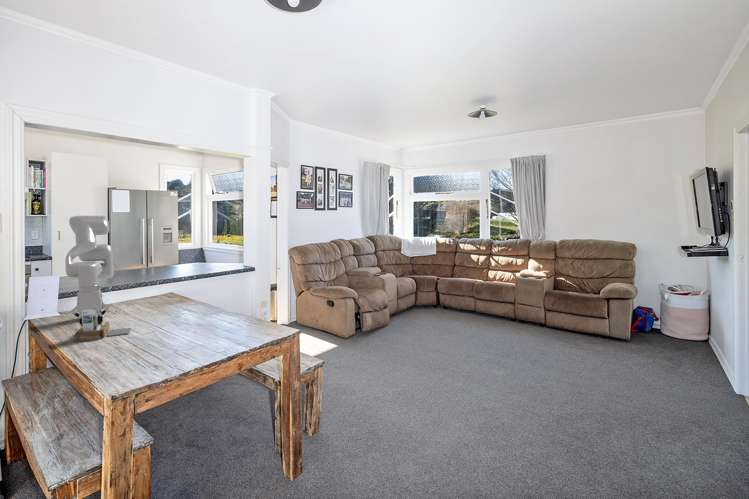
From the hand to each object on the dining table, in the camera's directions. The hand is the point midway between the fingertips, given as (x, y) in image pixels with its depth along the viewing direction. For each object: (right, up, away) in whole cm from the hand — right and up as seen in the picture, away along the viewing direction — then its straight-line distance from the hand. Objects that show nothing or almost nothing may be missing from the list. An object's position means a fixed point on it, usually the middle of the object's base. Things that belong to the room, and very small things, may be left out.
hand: (91, 324), depth 189 cm
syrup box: (0, -6, +1) cm, 6 cm away
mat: (+9, -6, +7) cm, 13 cm away
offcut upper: (-3, -3, +6) cm, 8 cm away
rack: (-1, -6, +3) cm, 7 cm away
